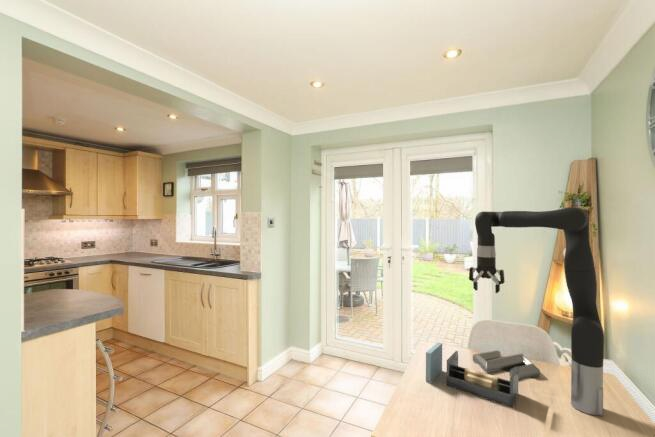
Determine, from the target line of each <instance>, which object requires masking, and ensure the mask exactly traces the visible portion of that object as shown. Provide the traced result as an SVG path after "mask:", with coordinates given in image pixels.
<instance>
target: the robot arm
mask: <svg viewBox="0 0 655 437" xmlns="http://www.w3.org/2000/svg"><path fill="white" fill-rule="evenodd" d="M474 226H475V229H476V235H477V247H476V267H473V266H471V267H469V272H468V280H469V281H471V282H473V284H472V285H473V289H474V291H478V286H479V285H478V284H479V283H478V281H479V279H480V278H482V279H488V280H489V279H491V280H492V281H493V282H494V283H495V285H494V287H495V289H494V290H495V291H494V292H495V294H498V293H499V292H500V291H501V290H500V289H501V288H500V287H501V286H500V285H503V284H504V283H505V270H504V269H497V267H496V265H497V264H496V263H497V262H496V260H497V259H496V256H497V252H496V242H495V241H496V237H495V236H496V235H495V234H494V233H493V230H492V229H493V228H496V227H502V228H550V229H556V230H557V229H558V230H563V234H564V239H565V251H564V261H563V262H564V264H563V267H564V268H563V269H564V275H565V276H564V277H565V282H566V287H567V291H568V293H569V296H570V299H571V303H572V325H571V331H570V332H571V336H570V338H571V339H570V340H571V342H570V343H571V344H570V345H571V346H570V349H571V350H570V352H571V353H570V354H571V360H570V361H571V367H570V368H571V370H570V371H571V372H570V373H571V374H570V375H571V377H570V380H571V381H570V383H571V385H570V389H571V390H570V405H571V407H573V408H575V409H576V410H577V411H579V412H581V413H584V414H587V415H590V416H591V415H592V416H600V417H604V360H605V359H604V358H605V356H604V352H605V351H604V350H605V344H604V343H605V335H604V329H603V326H602V323H601V319H600V315H599V311H598V306H597V296H598V295H597V294H598V293H597V292H598V284H597V283H598V282H597V274H596V273H597V272H596V266H595V262H594V257H593V253H592V248H591V244H590V216H589V214H588V212H587V211H586V210H584V209H583V208H581V207H576V206H570V207H569V206H567V207H566V208H561V209H556V210H555V209H554V210H545V211H530V210H506V211H505V210H504V211H480V212H478V213H477V214H476V216H475V218H474ZM475 272H476V273H477V275H476V276H475V277H474V273H475ZM496 274H498V275H499V279H500V280H499V279H498V277H497V276H496Z"/></svg>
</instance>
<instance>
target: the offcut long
mask: <svg viewBox="0 0 655 437" xmlns="http://www.w3.org/2000/svg"><path fill="white" fill-rule="evenodd" d="M465 368H466V369H465V381H467V375H468V374H471V375H474V376H477V377H481V378H484V379H488V380H491V381H493V386H492V389H493V390H496V391H498V378H499V377H498V376H496V375H495V376H494V375H492V374H490V373H489V374H487V373H486V372H481V371H478V370H474V369H472V368H471V369H470V368H467V367H465Z"/></svg>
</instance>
